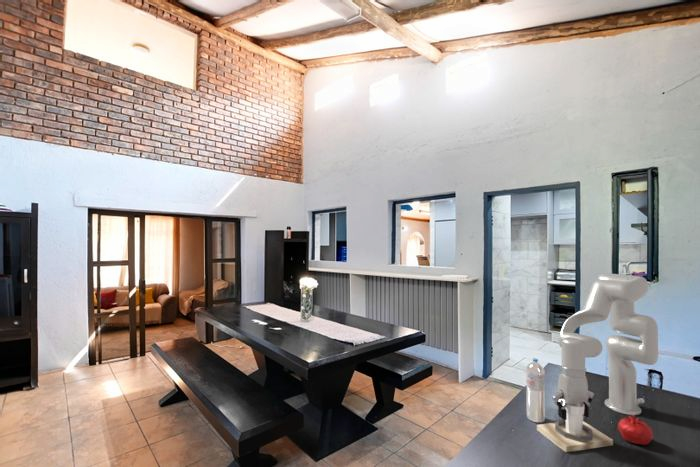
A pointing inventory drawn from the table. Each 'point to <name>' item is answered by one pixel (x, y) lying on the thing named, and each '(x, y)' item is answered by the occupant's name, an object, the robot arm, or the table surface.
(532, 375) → the water bottle
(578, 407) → the cup
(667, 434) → the table surface
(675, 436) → the table surface
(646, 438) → the pomegranate
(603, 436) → the seat board
